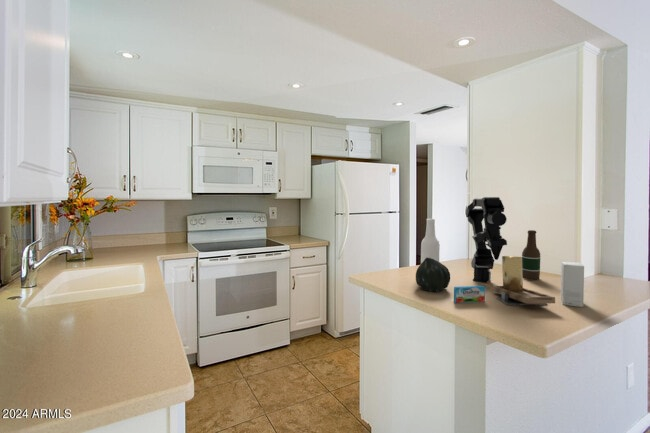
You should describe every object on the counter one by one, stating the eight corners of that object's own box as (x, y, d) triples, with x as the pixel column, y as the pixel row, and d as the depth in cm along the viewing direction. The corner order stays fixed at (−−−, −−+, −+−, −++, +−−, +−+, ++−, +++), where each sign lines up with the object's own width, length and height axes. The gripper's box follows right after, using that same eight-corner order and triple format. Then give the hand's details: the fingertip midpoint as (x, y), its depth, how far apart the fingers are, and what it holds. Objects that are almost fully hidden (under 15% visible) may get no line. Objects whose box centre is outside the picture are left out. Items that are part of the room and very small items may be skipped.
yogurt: (482, 300, 129) (483, 285, 128) (484, 302, 127) (485, 286, 127) (453, 302, 128) (454, 286, 127) (455, 303, 126) (455, 287, 126)
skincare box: (583, 307, 120) (585, 266, 119) (561, 304, 123) (563, 264, 122) (580, 301, 127) (582, 262, 126) (559, 298, 130) (561, 260, 129)
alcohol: (441, 277, 164) (442, 218, 162) (434, 281, 157) (435, 219, 155) (425, 275, 169) (426, 217, 167) (417, 278, 163) (418, 219, 161)
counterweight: (501, 291, 132) (500, 256, 133) (505, 288, 137) (504, 255, 138) (520, 293, 127) (519, 257, 128) (524, 290, 133) (523, 256, 133)
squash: (461, 277, 143) (439, 250, 149) (447, 286, 132) (424, 256, 138) (438, 293, 151) (418, 266, 157) (423, 302, 140) (402, 273, 146)
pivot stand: (496, 298, 131) (496, 289, 131) (533, 298, 131) (533, 289, 131) (507, 305, 123) (508, 296, 123) (546, 304, 123) (547, 295, 123)
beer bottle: (539, 277, 163) (541, 230, 161) (539, 281, 156) (541, 231, 155) (521, 275, 167) (522, 229, 165) (520, 279, 160) (522, 230, 159)
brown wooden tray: (492, 291, 138) (492, 285, 138) (516, 290, 139) (516, 285, 139) (527, 303, 115) (526, 297, 116) (555, 303, 116) (555, 297, 116)
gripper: (469, 225, 156) (473, 258, 156) (476, 228, 138) (480, 264, 138) (494, 223, 153) (499, 256, 153) (504, 225, 135) (509, 262, 135)
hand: (496, 259), depth 145 cm, fingers closed
